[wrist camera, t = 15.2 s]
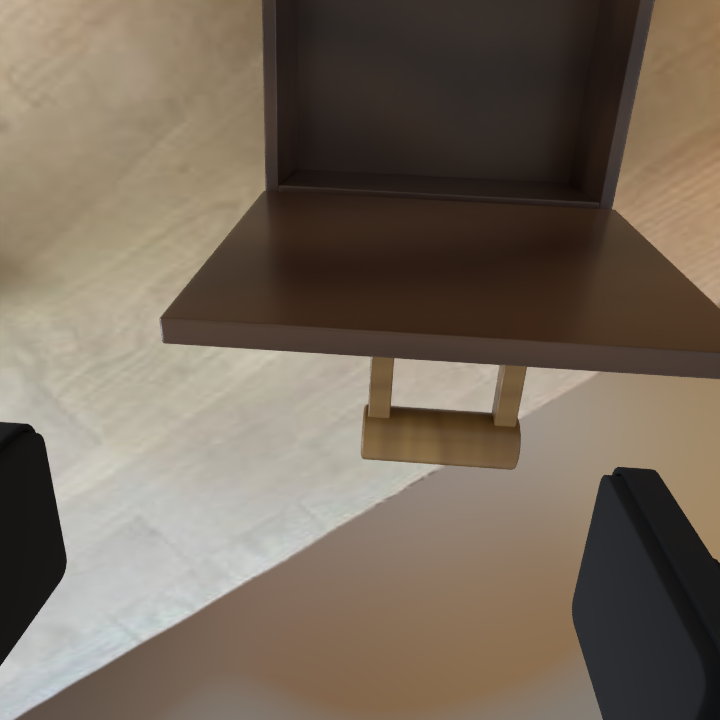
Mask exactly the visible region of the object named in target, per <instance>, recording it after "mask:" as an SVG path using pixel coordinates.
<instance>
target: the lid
mask: <svg viewBox="0 0 720 720" xmlns="http://www.w3.org/2000/svg"><path fill="white" fill-rule="evenodd" d="M160 326H161V334H162V341H163V343H169V344H184V345H200V346H215V347H231V348H246V349H262V350H277V351H293V352H308V353H324V354H339V355H355V356H370V357H371V367H370V386H369V405H368V404H367V405H365V407H364V415H363V427H362V442H361V457H362V458H363V459H370V460H384V461H398V462H412V463H426V464H440V465H454V466H468V467H483V468H497V469H511V470H512V469H514V468H515V467H516V465H517V462H518V459H519V453H520V442H521V441H520V440H521V434H520V424H519V420H518V411H519V406H520V401H521V396H522V391H523V385H524V380H525V375H526V370H527V367H540V368H556V369H571V370H587V371H602V372H618V373H633V374H634V373H635V374H649V375H664V376H680V377H696V378H711V379H720V308H719V307H717V306H716V305H715V304H714V303H713V302H712V301H711V300H710V299H709V298H708V297H707V296H706V295H705V294H704V293H703V292H702V291H701V290H700V289H698V288H697V287H696V286H695V285H694V284H693V283H692V282H691V281H690V280H689V279H688V278H687V277H686V276H685V275H684V274H683V273H682V272H680V271H679V270H678V269H677V268H676V267H675V266H674V265H673V264H672V263H671V262H670V261H669V260H668V259H667V258H666V257H665V256H664V255H662V254H661V253H660V252H659V251H658V250H657V249H656V248H655V247H654V246H653V245H652V244H651V243H650V242H649V241H648V240H647V239H646V238H644V237H643V236H642V235H641V234H640V233H639V232H638V231H637V230H636V229H635V228H634V227H633V226H632V225H631V224H630V223H629V222H628V221H627V220H625V219H624V218H623V217H622V216H621V215H620V214H619V213H618V212H617V211H616V210H609V209H591V208H572V207H554V206H535V205H516V204H498V203H479V202H461V201H442V200H424V199H405V198H386V197H368V196H349V195H331V194H312V193H294V192H275V191H263V193H262V194H261V195H260V196H259V198H258V199H257V200H256V201H255V202H254V204H253V205H252V206H251V207H250V209H249V210H248V211H247V212H246V213H245V215H244V216H243V217H242V218H241V220H240V221H239V222H238V223H237V224H236V226H235V227H234V228H233V229H232V231H231V232H230V233H229V234H228V235H227V237H226V238H225V239H224V240H223V242H222V243H221V244H220V245H219V246H218V248H217V249H216V250H215V251H214V253H213V254H212V255H211V256H210V257H209V259H208V260H207V261H206V262H205V264H204V265H203V266H202V267H201V268H200V270H199V271H198V272H197V273H196V274H195V276H194V277H193V278H192V279H191V281H190V282H189V283H188V284H187V285H186V287H185V288H184V289H183V290H182V292H181V293H180V294H179V295H178V296H177V298H176V299H175V300H174V301H173V303H172V304H171V305H170V306H169V307H168V309H167V310H166V311H165V312H164V314H163V315H162V316H161V317H160ZM394 358H401V359H416V360H432V361H447V362H463V363H478V364H494V365H500V367H499V373H498V379H497V384H496V390H495V396H494V402H493V408H492V413H486V412H471V411H457V410H442V409H427V408H412V407H398V406H391V394H392V380H393V366H394Z"/></svg>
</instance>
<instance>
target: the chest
mask: <svg viewBox="0 0 720 720" xmlns="http://www.w3.org/2000/svg"><path fill="white" fill-rule="evenodd" d="M654 1H655V0H262V19H263V71H264V123H265V175H266V191H275V192H294V193H312V194H331V195H349V196H368V197H386V198H405V199H424V200H442V201H461V202H479V203H498V204H516V205H535V206H554V207H572V208H591V209H609V210H612V206H613V201H614V196H615V191H616V187H617V182H618V177H619V172H620V167H621V162H622V157H623V152H624V148H625V143H626V138H627V133H628V128H629V123H630V118H631V113H632V108H633V104H634V99H635V94H636V89H637V84H638V79H639V74H640V69H641V64H642V60H643V55H644V50H645V45H646V40H647V35H648V30H649V25H650V21H651V16H652V11H653V6H654Z"/></svg>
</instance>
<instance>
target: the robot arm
mask: <svg viewBox="0 0 720 720" xmlns="http://www.w3.org/2000/svg"><path fill="white" fill-rule="evenodd" d="M66 563H67V558H66V552H65V547H64V541H63V536H62V531H61V526H60V520H59V515H58V510H57V504H56V499H55V494H54V489H53V483H52V478H51V473H50V468H49V462H48V457H47V452H46V446H45V442H44V439H43V437H42V435H40V434H39V433H36V432H35V430H34V429H33V427H32V426H31V425H29V424H21V423H7V422H0V666H1V664H2V663H3V662H4V660H5V659H6V657H7V656H8V654H9V653H10V652H11V650H12V649H13V647H14V646H15V645H16V643H17V642H18V640H19V639H20V638H21V636H22V635H23V633H24V632H25V631H26V629H27V628H28V626H29V625H30V623H31V622H32V621H33V619H34V618H35V616H36V615H37V614H38V612H39V611H40V609H41V608H42V607H43V605H44V604H45V602H46V601H47V599H48V598H49V597H50V595H51V594H52V592H53V591H54V590H55V588H56V587H57V585H58V584H59V583H60V581H61V579H62V578H63V575H64V573H65V569H66ZM572 616H573V622H574V626H575V629H576V633H577V636H578V639H579V643H580V646H581V649H582V652H583V656H584V659H585V662H586V665H587V669H588V672H589V675H590V679H591V682H592V685H593V688H594V691H595V695H596V698H597V701H598V704H599V708H600V711H601V714H602V718H603V720H720V563H719V562H718V561H717V560H716V559H714V558H712V556H711V554H710V553H709V552H708V550H707V548H706V547H705V545H704V544H703V542H702V541H701V539H700V537H699V536H698V534H697V533H696V531H695V530H694V528H693V527H692V525H691V523H690V522H689V520H688V519H687V517H686V516H685V514H684V513H683V511H682V510H681V508H680V507H679V505H678V504H677V502H676V500H675V499H674V497H673V496H672V494H671V492H670V491H669V489H668V488H667V486H666V485H665V484H664V482H663V480H662V479H661V477H660V475H659V474H658V473H657V472H656V471H655V470H652V469H640V468H626V467H617V468H616V469H615V470H614V472H613V474H612V475H604V476H603V477H602V479H601V481H600V485H599V489H598V494H597V498H596V502H595V506H594V511H593V515H592V519H591V524H590V528H589V533H588V537H587V541H586V545H585V550H584V554H583V558H582V562H581V567H580V571H579V575H578V580H577V584H576V588H575V593H574V598H573V603H572Z"/></svg>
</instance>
